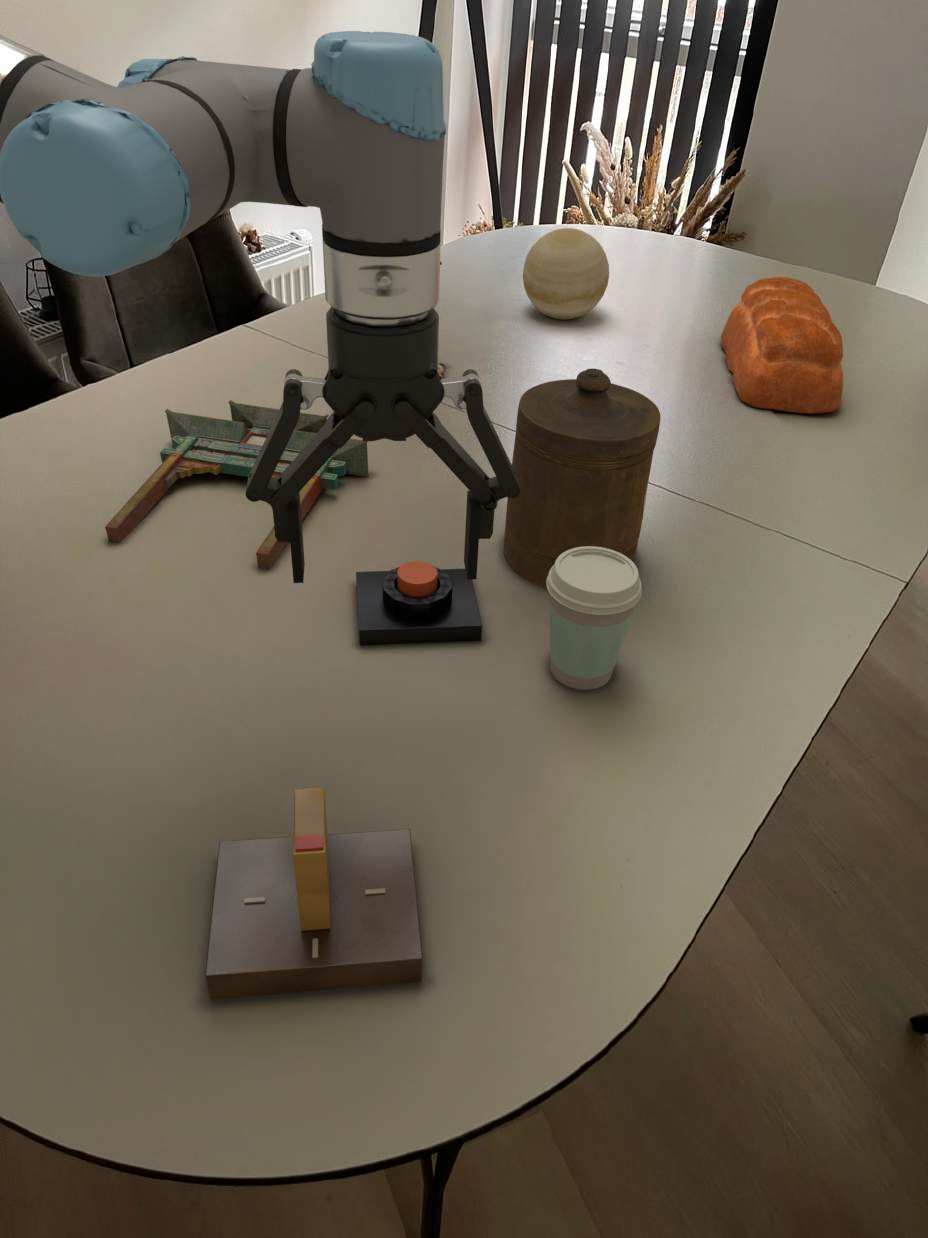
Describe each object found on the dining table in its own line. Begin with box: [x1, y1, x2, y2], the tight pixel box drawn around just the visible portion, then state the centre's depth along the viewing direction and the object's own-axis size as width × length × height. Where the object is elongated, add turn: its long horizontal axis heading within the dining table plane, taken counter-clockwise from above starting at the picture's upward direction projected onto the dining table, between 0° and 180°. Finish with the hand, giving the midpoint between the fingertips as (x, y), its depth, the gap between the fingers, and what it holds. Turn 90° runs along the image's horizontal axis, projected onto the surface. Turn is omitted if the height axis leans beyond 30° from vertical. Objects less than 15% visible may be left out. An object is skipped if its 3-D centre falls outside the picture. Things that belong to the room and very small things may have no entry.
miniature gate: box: [104, 399, 370, 570], centre depth 114 cm, size 27×6×30 cm
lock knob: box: [293, 786, 331, 931], centre depth 63 cm, size 6×2×8 cm, turn 7°
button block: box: [355, 566, 483, 647], centre depth 96 cm, size 12×10×4 cm
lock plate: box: [204, 828, 424, 1000], centre depth 67 cm, size 14×11×3 cm
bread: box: [720, 276, 844, 414], centre depth 149 cm, size 16×31×13 cm, turn 174°
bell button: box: [397, 560, 438, 597], centre depth 95 cm, size 4×4×2 cm
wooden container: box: [502, 368, 661, 589], centre depth 101 cm, size 15×15×22 cm
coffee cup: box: [546, 546, 643, 691], centre depth 88 cm, size 8×8×12 cm
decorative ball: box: [522, 227, 610, 321], centre depth 165 cm, size 15×15×15 cm
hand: (385, 572), depth 76 cm, fingers open, 13 cm apart
